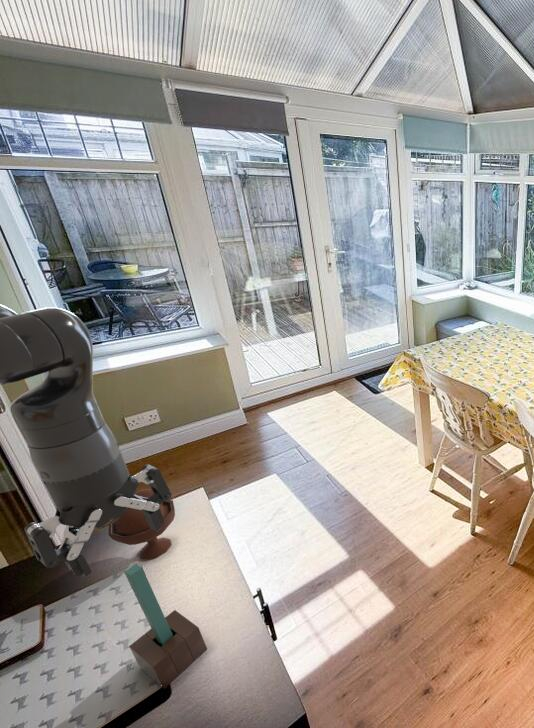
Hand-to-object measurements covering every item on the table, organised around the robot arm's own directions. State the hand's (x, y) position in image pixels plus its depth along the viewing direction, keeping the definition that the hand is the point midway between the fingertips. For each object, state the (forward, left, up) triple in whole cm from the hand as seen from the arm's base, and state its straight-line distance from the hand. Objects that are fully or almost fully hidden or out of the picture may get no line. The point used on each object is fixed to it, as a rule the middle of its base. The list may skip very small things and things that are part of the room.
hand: (122, 549), depth 60 cm
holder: (0, 0, -26) cm, 26 cm away
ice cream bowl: (-11, +27, -26) cm, 40 cm away
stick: (0, 0, -26) cm, 26 cm away
